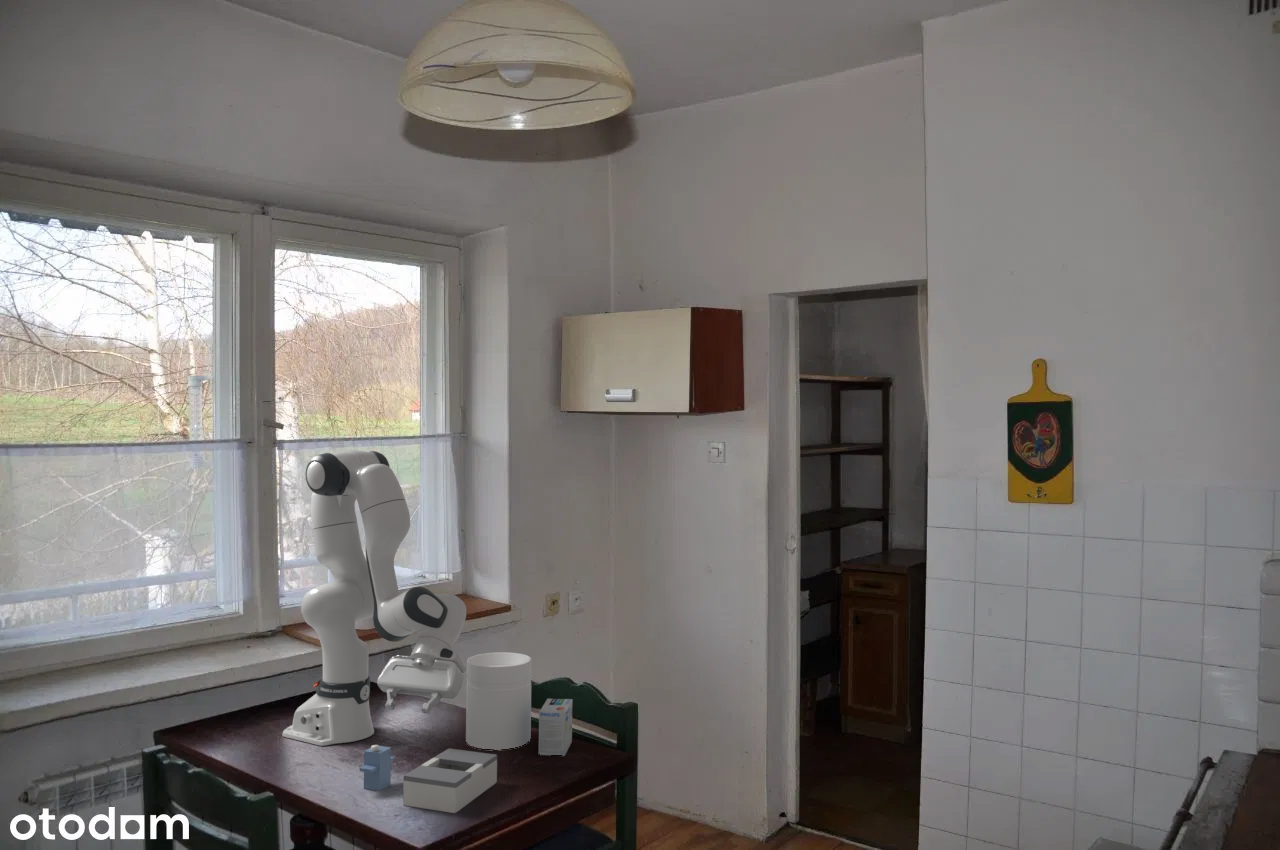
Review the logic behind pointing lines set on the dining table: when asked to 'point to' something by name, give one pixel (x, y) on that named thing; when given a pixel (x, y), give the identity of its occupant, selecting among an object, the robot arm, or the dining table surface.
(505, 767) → the dining table surface
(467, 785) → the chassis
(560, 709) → the light bulb box
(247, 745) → the dining table surface
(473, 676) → the canister
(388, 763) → the block
